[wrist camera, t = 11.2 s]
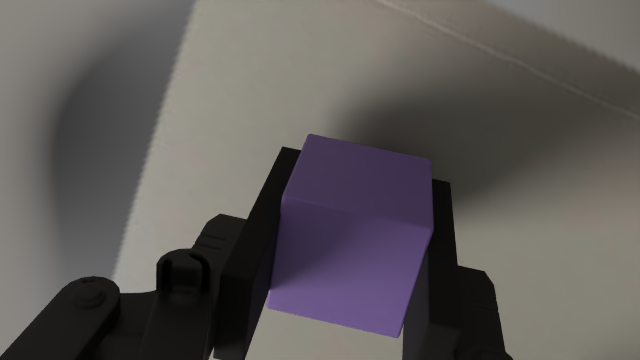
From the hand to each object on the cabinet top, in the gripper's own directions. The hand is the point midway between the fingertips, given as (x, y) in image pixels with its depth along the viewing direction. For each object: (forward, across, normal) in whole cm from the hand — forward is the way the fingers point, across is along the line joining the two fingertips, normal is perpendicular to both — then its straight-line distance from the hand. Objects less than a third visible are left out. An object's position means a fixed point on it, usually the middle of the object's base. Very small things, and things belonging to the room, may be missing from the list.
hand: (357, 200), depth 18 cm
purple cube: (0, 0, 0) cm, 0 cm away
